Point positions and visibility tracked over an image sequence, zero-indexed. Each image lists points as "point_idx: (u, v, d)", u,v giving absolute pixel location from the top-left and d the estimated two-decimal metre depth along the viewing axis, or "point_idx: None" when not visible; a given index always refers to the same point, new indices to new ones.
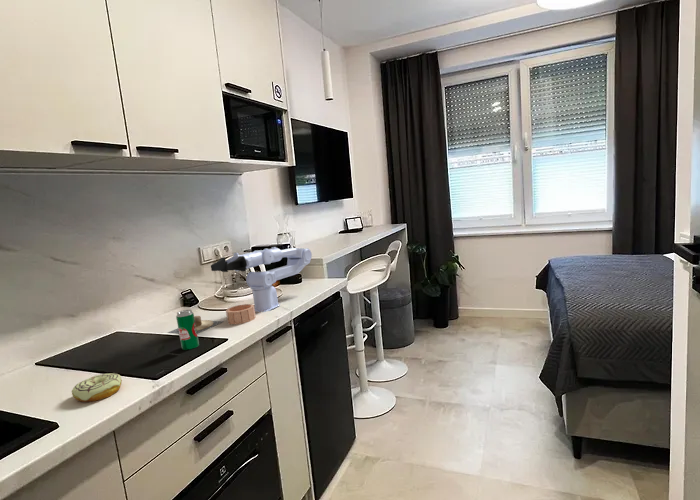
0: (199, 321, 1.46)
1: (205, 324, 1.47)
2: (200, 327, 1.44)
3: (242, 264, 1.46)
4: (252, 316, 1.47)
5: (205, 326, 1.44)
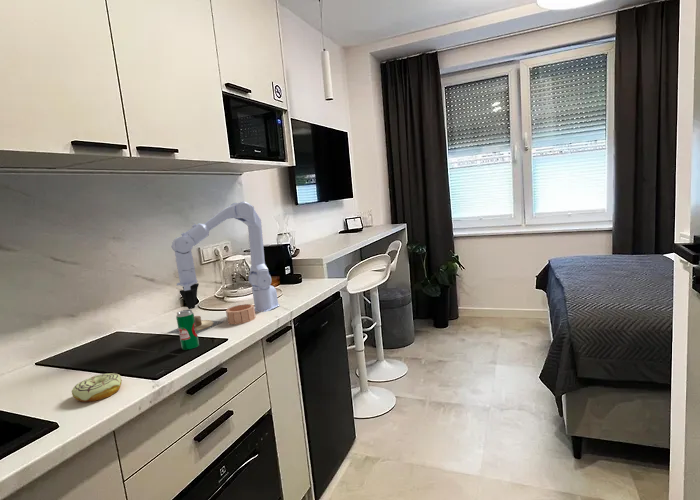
0: (199, 321, 1.46)
1: (205, 324, 1.47)
2: (200, 327, 1.44)
3: (188, 291, 1.41)
4: (252, 316, 1.47)
5: (205, 326, 1.44)
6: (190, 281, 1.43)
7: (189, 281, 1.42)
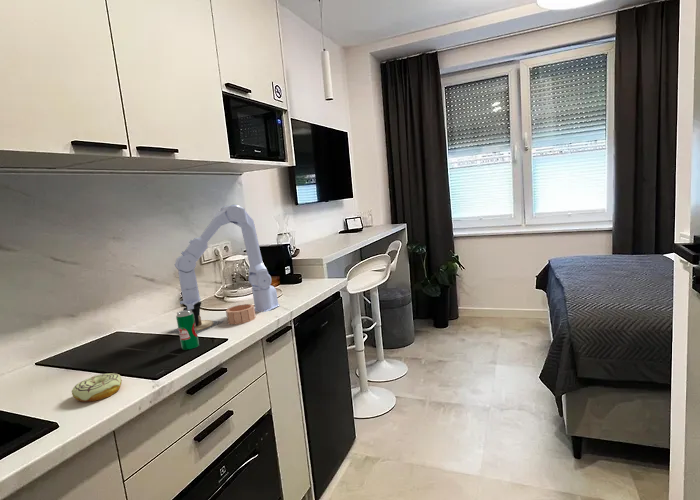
0: (199, 321, 1.46)
1: (205, 324, 1.47)
2: (200, 327, 1.44)
3: (192, 309, 1.43)
4: (252, 316, 1.47)
5: (205, 326, 1.44)
6: (193, 300, 1.43)
7: (192, 300, 1.43)
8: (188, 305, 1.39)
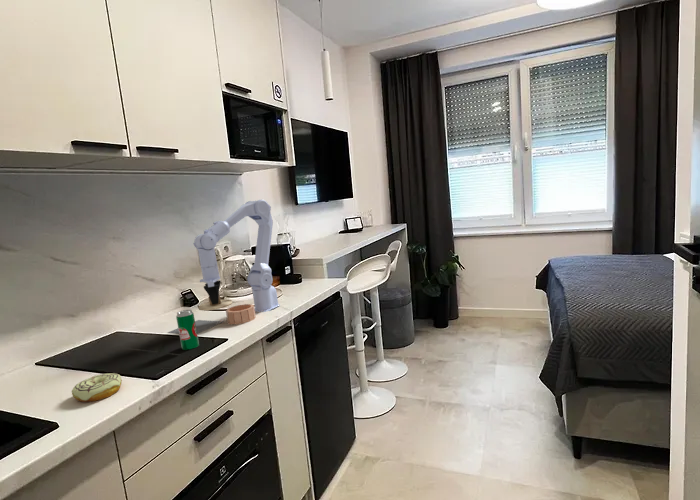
0: None
1: (224, 303, 1.47)
2: (220, 305, 1.44)
3: (212, 287, 1.43)
4: (252, 316, 1.47)
5: (225, 304, 1.45)
6: (213, 277, 1.44)
7: (212, 277, 1.44)
8: (209, 282, 1.39)
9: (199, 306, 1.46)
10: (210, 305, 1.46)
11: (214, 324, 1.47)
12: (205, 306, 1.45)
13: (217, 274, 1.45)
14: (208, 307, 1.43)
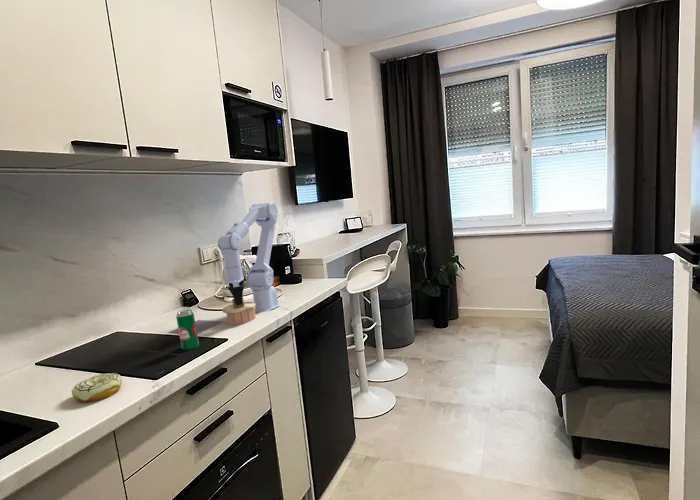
0: (242, 302, 1.48)
1: (248, 305, 1.48)
2: (244, 308, 1.45)
3: None
4: (252, 316, 1.47)
5: (248, 307, 1.46)
6: (237, 278, 1.45)
7: (237, 278, 1.45)
8: (234, 282, 1.40)
9: (223, 309, 1.48)
10: (234, 308, 1.47)
11: (214, 324, 1.47)
12: (229, 309, 1.47)
13: (241, 274, 1.47)
14: (232, 310, 1.45)
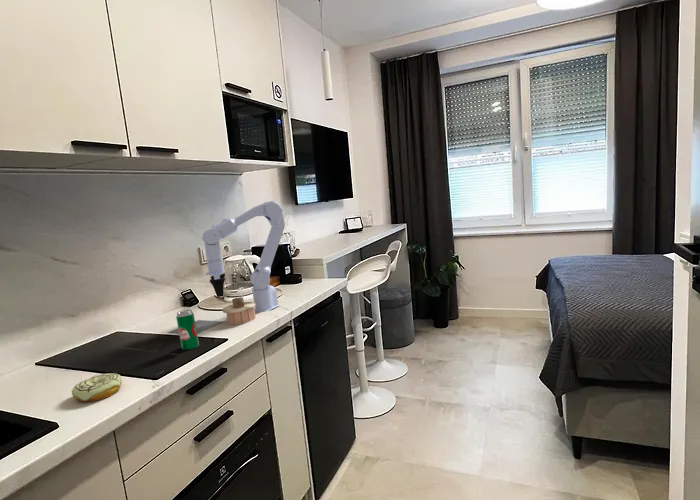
0: (242, 302, 1.48)
1: (248, 305, 1.48)
2: (244, 308, 1.45)
3: None
4: (252, 316, 1.47)
5: (248, 307, 1.46)
6: (219, 271, 1.51)
7: (218, 271, 1.51)
8: (215, 275, 1.47)
9: (223, 309, 1.48)
10: (234, 308, 1.47)
11: (214, 324, 1.47)
12: (229, 309, 1.47)
13: (222, 268, 1.53)
14: (232, 310, 1.45)
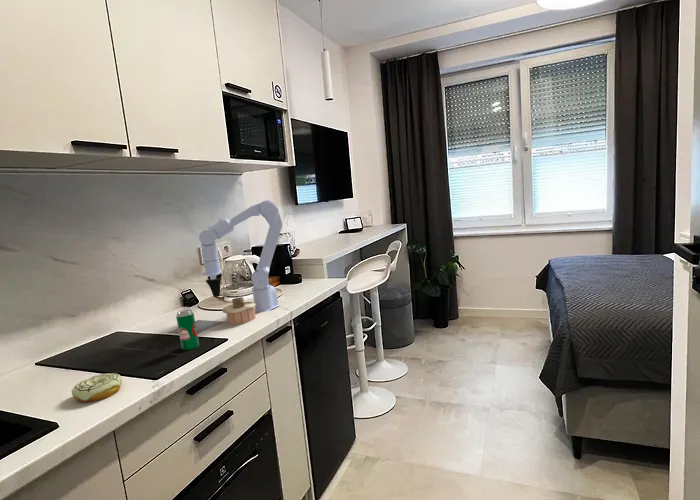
0: (242, 302, 1.48)
1: (248, 305, 1.48)
2: (244, 308, 1.45)
3: (214, 280, 1.51)
4: (252, 316, 1.47)
5: (248, 307, 1.46)
6: (215, 271, 1.53)
7: (214, 271, 1.53)
8: (211, 275, 1.48)
9: (223, 309, 1.48)
10: (234, 308, 1.47)
11: (214, 324, 1.47)
12: (229, 309, 1.47)
13: (219, 268, 1.54)
14: (232, 310, 1.45)
